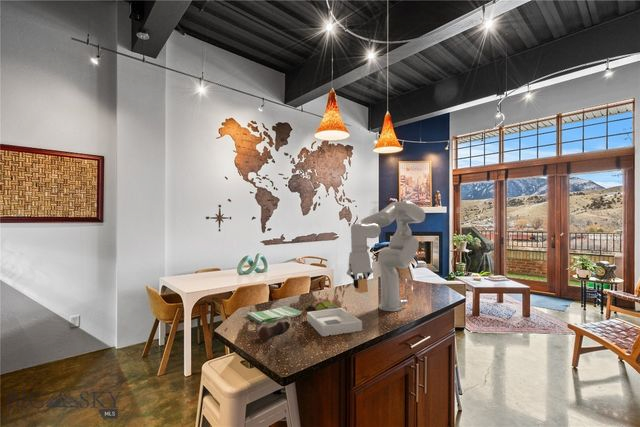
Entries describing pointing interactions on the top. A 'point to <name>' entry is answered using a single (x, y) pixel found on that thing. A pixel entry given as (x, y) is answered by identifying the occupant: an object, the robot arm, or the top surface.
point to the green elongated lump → (322, 304)
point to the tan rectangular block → (361, 285)
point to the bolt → (273, 330)
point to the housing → (334, 321)
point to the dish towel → (273, 314)
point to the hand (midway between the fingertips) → (360, 286)
